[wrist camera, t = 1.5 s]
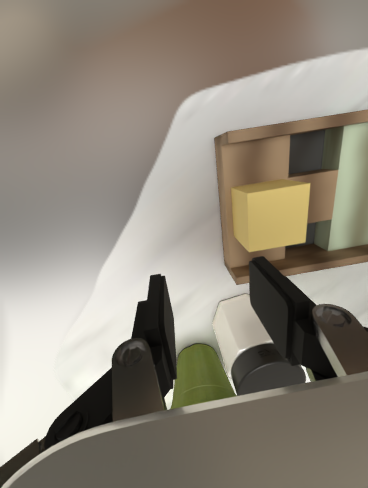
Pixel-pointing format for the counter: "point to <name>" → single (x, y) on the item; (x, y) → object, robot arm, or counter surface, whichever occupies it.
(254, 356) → the jar
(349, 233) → the wooden tray
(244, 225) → the block
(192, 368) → the plant pot
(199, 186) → the counter surface
